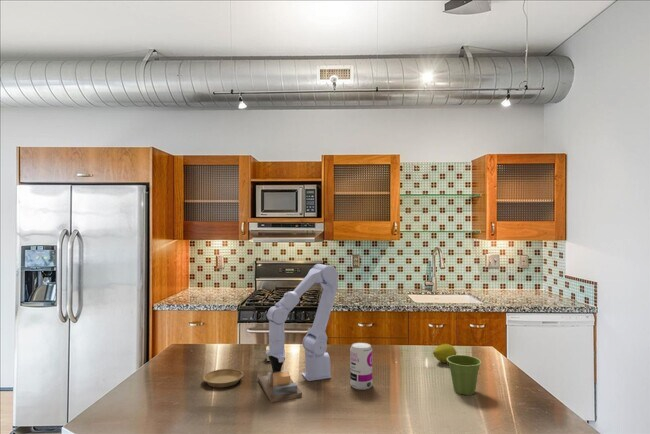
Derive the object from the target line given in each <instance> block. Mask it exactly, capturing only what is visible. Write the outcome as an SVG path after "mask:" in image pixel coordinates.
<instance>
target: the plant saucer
mask: <svg viewBox="0 0 650 434" xmlns="http://www.w3.org/2000/svg"><path fill="white" fill-rule="evenodd" d="M243 377H244V372H243V371H242V370H239V369H237V368H236V369H234V368H223V369H217V370H211V371H210V372H207V373H206V374H205V375H203V380H204V381H205V383H206V384H207V385H209V386H210V387H212V388H227V387H228V388H229V387H231V386H235V385H236V384H237V383H239V381H240V380H242V378H243Z"/></svg>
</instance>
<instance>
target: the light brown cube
mask: <svg viewBox="0 0 650 434" xmlns="http://www.w3.org/2000/svg"><path fill="white" fill-rule="evenodd" d="M287 371H288V370H287ZM287 371H283V372H276V373H273V386H278V385H284V384H290V378H291V375H290V373H289V374H288V372H289V371H288V372H287Z"/></svg>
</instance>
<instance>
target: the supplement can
mask: <svg viewBox="0 0 650 434" xmlns="http://www.w3.org/2000/svg"><path fill="white" fill-rule="evenodd" d="M349 352H350V353H349V355H350V356H349V357H350V359H349V363H350V365H349V367H350V368H349V369H350V370H349V373H350V376H349V377H350V380H349V381H350V383H349V385H350V386H351V387H352V388H353V389H355V390H361V391H362V390H363V391H364V390H369V389H370V388H372V386H373V348H372V345H371V344H370V343H367V342H354V343H352V344H351V347H350V351H349Z"/></svg>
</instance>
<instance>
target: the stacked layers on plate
mask: <svg viewBox="0 0 650 434" xmlns="http://www.w3.org/2000/svg"><path fill="white" fill-rule="evenodd" d="M265 348H266V349H265V352H266V351H269V345H267V346H266V347H265ZM265 354H266V353H265ZM268 356H272V355H267V354H266V355H265V358H266V362H267V361H270V360H269V358H268Z"/></svg>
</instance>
